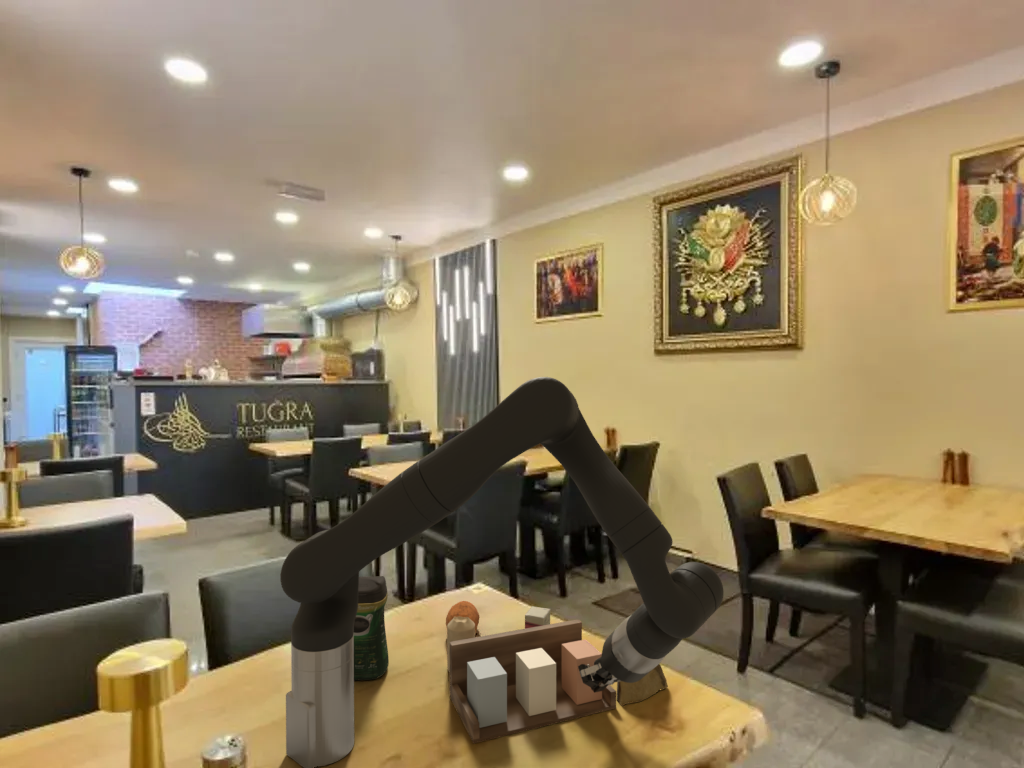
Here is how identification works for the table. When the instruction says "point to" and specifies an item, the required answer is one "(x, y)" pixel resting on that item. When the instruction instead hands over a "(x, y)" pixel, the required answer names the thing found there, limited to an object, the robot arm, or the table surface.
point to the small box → (537, 617)
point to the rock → (641, 687)
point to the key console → (505, 653)
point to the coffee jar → (370, 629)
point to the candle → (459, 632)
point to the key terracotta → (571, 676)
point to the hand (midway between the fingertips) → (595, 685)
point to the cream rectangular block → (535, 681)
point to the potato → (463, 612)
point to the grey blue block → (487, 691)
